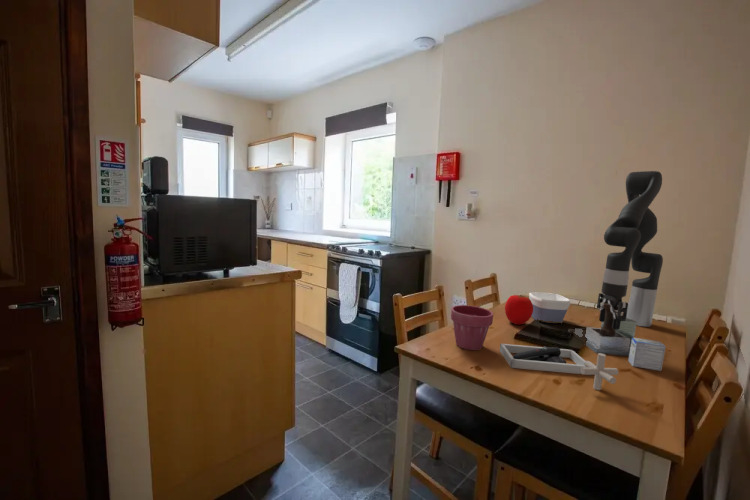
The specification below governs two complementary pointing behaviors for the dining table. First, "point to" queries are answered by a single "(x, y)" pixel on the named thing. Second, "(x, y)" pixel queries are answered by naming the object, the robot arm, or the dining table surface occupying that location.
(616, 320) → the robot arm
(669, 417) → the dining table surface
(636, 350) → the medicine box
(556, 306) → the bowl
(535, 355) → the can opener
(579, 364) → the gray parallelogram frame
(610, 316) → the bolt
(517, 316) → the tomato
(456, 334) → the plant pot
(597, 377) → the pipe connector
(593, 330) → the motor mount
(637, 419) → the dining table surface
